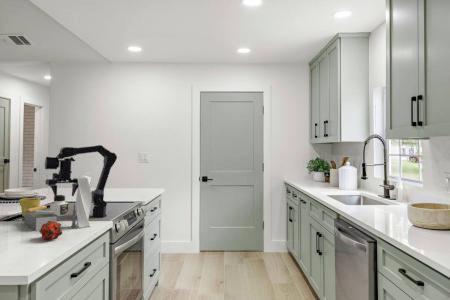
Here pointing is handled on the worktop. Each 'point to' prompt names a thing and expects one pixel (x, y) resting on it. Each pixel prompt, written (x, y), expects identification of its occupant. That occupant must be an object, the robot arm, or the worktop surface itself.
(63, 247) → the worktop surface
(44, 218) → the grey switch box
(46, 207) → the rocker outlet
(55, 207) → the medicine bottle
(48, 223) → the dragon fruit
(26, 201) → the plant pot
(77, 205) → the skyscraper
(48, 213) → the rocker outlet
